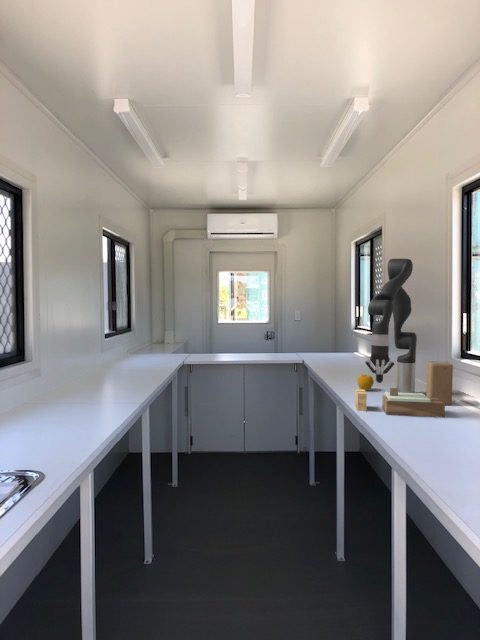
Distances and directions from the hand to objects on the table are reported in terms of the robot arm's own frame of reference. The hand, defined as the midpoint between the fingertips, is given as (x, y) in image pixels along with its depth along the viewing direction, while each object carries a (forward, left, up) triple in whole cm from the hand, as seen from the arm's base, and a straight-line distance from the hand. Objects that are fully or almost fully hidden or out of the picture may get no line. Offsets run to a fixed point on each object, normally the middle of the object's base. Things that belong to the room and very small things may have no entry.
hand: (379, 382), depth 202 cm
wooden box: (0, +15, -13) cm, 19 cm away
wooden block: (-22, +32, -13) cm, 41 cm away
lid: (0, +12, -7) cm, 14 cm away
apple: (-47, 0, -13) cm, 49 cm away
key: (-4, -7, -13) cm, 16 cm away
